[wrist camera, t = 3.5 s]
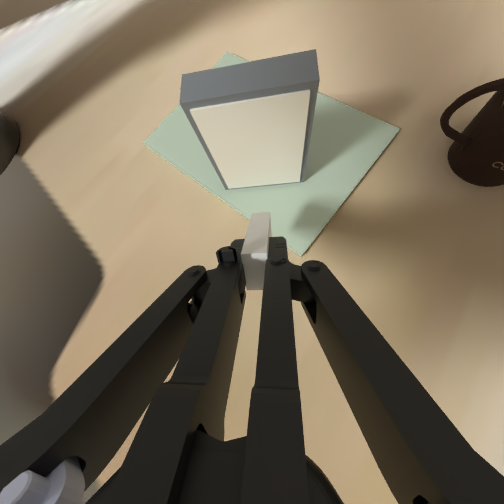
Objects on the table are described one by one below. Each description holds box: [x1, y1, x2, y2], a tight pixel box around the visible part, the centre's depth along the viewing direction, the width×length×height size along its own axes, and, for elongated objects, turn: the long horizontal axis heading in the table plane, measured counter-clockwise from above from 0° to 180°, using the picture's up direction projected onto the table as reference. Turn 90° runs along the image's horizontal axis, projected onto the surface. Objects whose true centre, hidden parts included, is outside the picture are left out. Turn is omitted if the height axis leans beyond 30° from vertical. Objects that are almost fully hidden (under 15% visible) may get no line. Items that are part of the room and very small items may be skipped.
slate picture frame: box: [180, 49, 319, 190], centre depth 19 cm, size 3×9×11 cm, turn 91°
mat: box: [144, 52, 400, 257], centre depth 26 cm, size 26×18×1 cm
